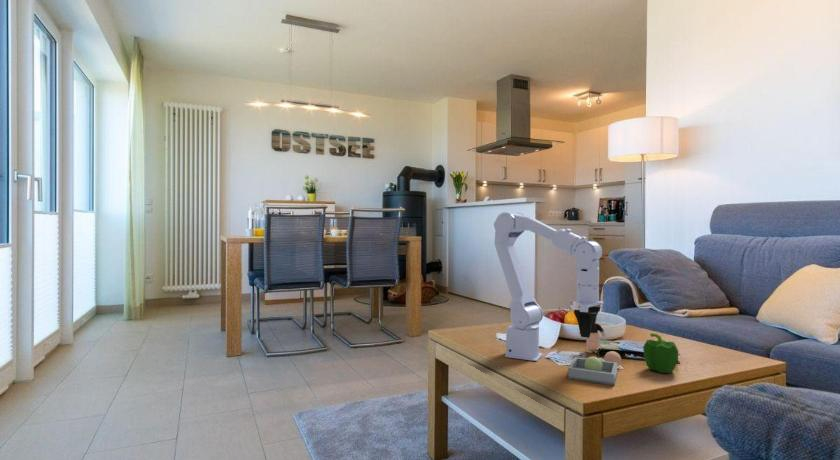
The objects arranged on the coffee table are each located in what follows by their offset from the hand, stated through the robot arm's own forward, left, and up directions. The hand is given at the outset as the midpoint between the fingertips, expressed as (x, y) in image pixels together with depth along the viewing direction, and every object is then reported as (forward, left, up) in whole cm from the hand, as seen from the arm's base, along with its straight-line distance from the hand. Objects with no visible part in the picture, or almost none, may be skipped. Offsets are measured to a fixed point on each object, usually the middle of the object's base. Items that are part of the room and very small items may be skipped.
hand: (587, 334), depth 125 cm
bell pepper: (+18, +9, -10) cm, 22 cm away
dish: (+2, -5, -10) cm, 11 cm away
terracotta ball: (+6, +6, -10) cm, 13 cm away
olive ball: (+2, -5, -9) cm, 11 cm away
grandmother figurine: (-1, +20, -10) cm, 22 cm away
